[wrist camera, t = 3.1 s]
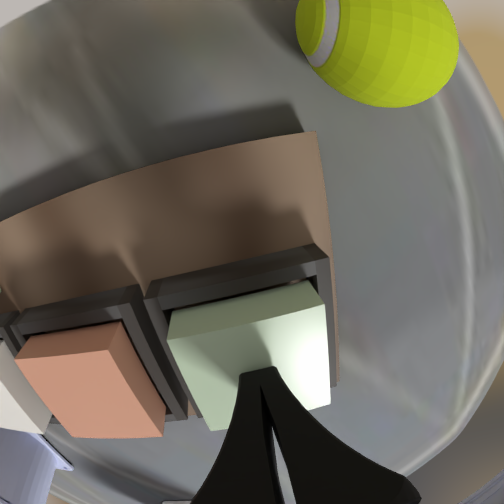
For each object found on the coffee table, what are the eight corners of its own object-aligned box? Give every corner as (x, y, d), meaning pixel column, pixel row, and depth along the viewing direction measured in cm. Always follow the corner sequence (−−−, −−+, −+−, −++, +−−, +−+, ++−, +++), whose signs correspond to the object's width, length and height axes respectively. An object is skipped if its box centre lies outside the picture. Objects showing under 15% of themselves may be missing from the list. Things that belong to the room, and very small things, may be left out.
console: (24, 405, 16) (10, 432, 13) (-58, 253, 11) (-86, 271, 8) (331, 366, 18) (349, 401, 15) (305, 132, 13) (332, 128, 10)
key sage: (209, 401, 13) (211, 431, 12) (172, 311, 11) (166, 340, 10) (317, 375, 14) (330, 403, 12) (308, 280, 12) (324, 304, 10)
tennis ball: (275, -10, 10) (316, -89, 4) (392, 14, 11) (470, -25, 4) (281, 108, 12) (341, 77, 6) (403, 121, 13) (499, 121, 7)
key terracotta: (81, 412, 13) (72, 436, 11) (31, 336, 11) (13, 359, 9) (166, 407, 13) (163, 436, 11) (120, 321, 11) (107, 349, 10)
